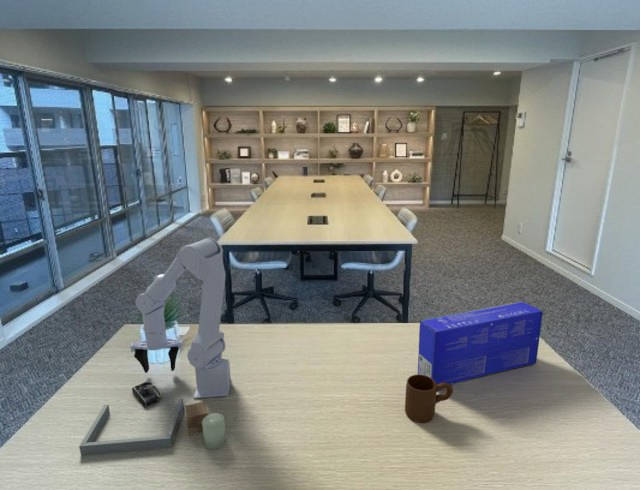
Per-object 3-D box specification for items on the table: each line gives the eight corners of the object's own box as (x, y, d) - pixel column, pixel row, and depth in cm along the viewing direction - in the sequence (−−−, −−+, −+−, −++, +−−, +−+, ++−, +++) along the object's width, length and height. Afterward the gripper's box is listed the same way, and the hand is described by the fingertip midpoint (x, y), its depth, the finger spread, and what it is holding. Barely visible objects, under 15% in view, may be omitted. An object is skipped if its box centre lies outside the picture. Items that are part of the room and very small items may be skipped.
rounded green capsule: (226, 433, 98) (225, 412, 97) (224, 448, 93) (222, 426, 92) (206, 435, 98) (203, 414, 96) (202, 450, 93) (200, 428, 91)
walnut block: (206, 417, 104) (205, 400, 103) (209, 430, 99) (207, 413, 98) (186, 422, 102) (184, 405, 101) (188, 435, 98) (186, 418, 96)
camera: (150, 384, 118) (148, 372, 117) (163, 401, 111) (162, 388, 109) (132, 392, 115) (130, 379, 113) (145, 409, 107) (143, 396, 106)
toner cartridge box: (516, 351, 134) (523, 300, 129) (536, 364, 127) (545, 311, 122) (415, 374, 122) (419, 318, 117) (431, 390, 114) (436, 331, 110)
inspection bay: (184, 406, 108) (183, 398, 107) (171, 447, 94) (170, 438, 93) (105, 413, 106) (104, 405, 105) (80, 455, 92) (79, 446, 91)
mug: (446, 404, 108) (448, 373, 106) (455, 423, 101) (458, 391, 98) (401, 404, 108) (403, 374, 106) (408, 424, 101) (410, 392, 98)
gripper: (183, 321, 122) (187, 361, 126) (133, 324, 121) (139, 364, 124) (178, 332, 116) (182, 373, 119) (125, 335, 114) (131, 377, 118)
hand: (160, 370), depth 121 cm, fingers open, 7 cm apart
